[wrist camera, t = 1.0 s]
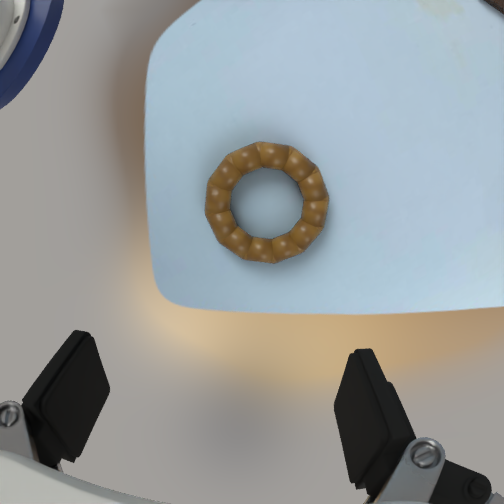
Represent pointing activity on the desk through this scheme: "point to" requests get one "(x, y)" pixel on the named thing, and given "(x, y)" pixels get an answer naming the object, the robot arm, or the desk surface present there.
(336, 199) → the desk surface
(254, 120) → the desk surface
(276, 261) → the ring
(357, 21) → the desk surface
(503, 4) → the post
